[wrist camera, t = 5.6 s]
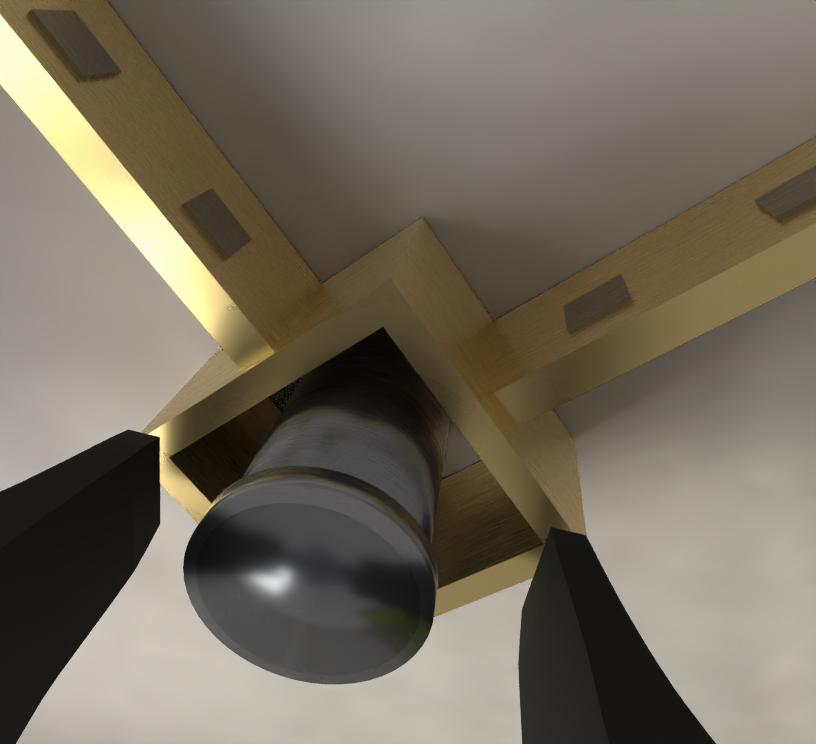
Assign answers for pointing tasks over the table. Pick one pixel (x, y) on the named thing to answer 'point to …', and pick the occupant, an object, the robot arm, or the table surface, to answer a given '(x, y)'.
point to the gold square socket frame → (386, 296)
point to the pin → (330, 526)
